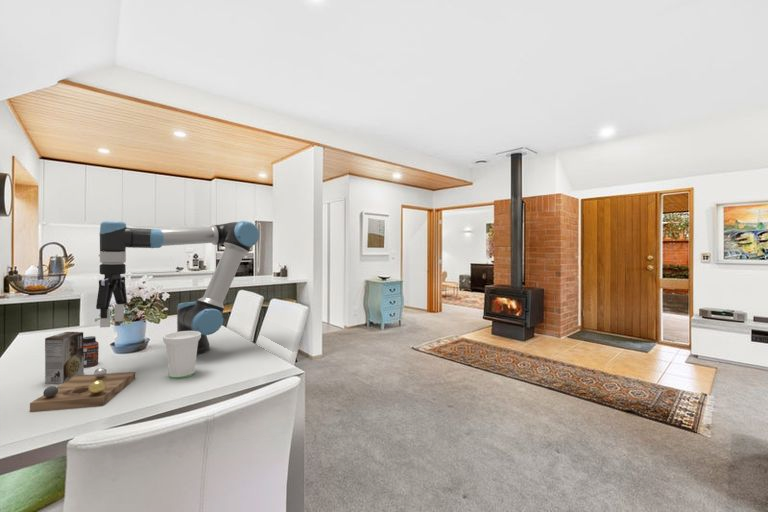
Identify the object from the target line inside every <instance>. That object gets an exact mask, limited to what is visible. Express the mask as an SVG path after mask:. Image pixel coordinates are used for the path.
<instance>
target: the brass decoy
mask: <svg viewBox="0 0 768 512" xmlns="http://www.w3.org/2000/svg"><path fill="white" fill-rule="evenodd" d="M105 388H106V384H105V382H104V381H102V380H96V381H94V382H92V383H91V384H90V385H89V387H88V391H89V393H91V394H93V395H97V394H100V393H102V392H103V391H104V390H105Z"/></svg>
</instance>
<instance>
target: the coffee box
mask: <svg viewBox="0 0 768 512" xmlns="http://www.w3.org/2000/svg"><path fill="white" fill-rule="evenodd" d="M83 338H84V332H83V331H81V332H80V331H79V332H78V331H64V332H61V333H57V334H54V335H52V336H48V337H45V338H44V351H45V352H44V364H45V365H44V375H45V376H44V383H45V385H49V384H51V385H52V384H63V383H65V382H66V381H68V380H70V379H72V378H73V377H75V376H79V375H85V372H84V368H85V367H84V351H83V350H84V349H83Z"/></svg>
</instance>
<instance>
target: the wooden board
mask: <svg viewBox="0 0 768 512" xmlns="http://www.w3.org/2000/svg"><path fill="white" fill-rule="evenodd" d="M96 380H102V381H104V382H105V384H106V388H105V390H104V391H103V392H102V393H100V394H97V395H93V394H91V393H89V391H88V387H89V385H90V384H91V383H92V382H94V381H96ZM135 380H136V371H130V372H129V371H128V372H127V371H126V372H113V373H106V375H105V376H104V377H102V378H96V377H95V376H94V374H82V375H79V376H75V377H73V378H72V379H70V380H68V381H66V382H65V383H60V385H58V386H56V387H57V388H58V393H57V394H56V395H55V396H53V397H45V396H44V394H43V395H41V396H39V397H38V398H36V399H35V400H32V401H31V402H30V403H29V412H42V411H51V410H52V411H53V410H66V409H76V408H77V409H78V408H91V407H99V406H101V407H103V406H104V405H106V404H107V403H108V402H110V400H112V399H113V398H114V397H115V396H117V394H119V393H120V392H121V391H122V390H124V389H125V388H126V387H127V386H128V385H130V384H131V383H132V382H134V381H135Z"/></svg>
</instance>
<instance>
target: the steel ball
mask: <svg viewBox="0 0 768 512" xmlns="http://www.w3.org/2000/svg"><path fill="white" fill-rule="evenodd" d="M93 373H94V374H93V375H94V376H95V377H96V378H102V377H104V376H105V375H106V374H108V372H107V369H106V368H104V367H99V368H96V370H95V371H94V372H93Z"/></svg>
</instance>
